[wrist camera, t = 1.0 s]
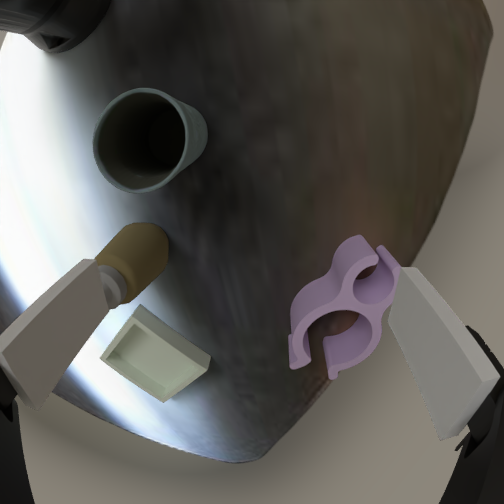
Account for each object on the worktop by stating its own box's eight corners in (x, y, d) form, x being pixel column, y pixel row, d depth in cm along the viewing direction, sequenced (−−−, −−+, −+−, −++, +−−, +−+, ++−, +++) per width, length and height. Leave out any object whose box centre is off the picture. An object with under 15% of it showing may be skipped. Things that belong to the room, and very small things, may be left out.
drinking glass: (214, 96, 33) (188, 81, 22) (215, 174, 37) (190, 192, 26) (139, 104, 33) (90, 98, 22) (142, 177, 37) (96, 196, 26)
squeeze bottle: (181, 266, 42) (131, 346, 25) (132, 267, 43) (70, 339, 26) (171, 212, 39) (106, 270, 22) (121, 217, 40) (43, 272, 23)
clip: (333, 222, 38) (345, 240, 32) (404, 256, 39) (424, 277, 33) (273, 333, 46) (273, 363, 39) (339, 354, 47) (346, 383, 40)
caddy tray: (107, 347, 50) (99, 358, 47) (140, 303, 45) (131, 315, 42) (168, 390, 53) (163, 402, 50) (211, 356, 48) (207, 370, 45)
